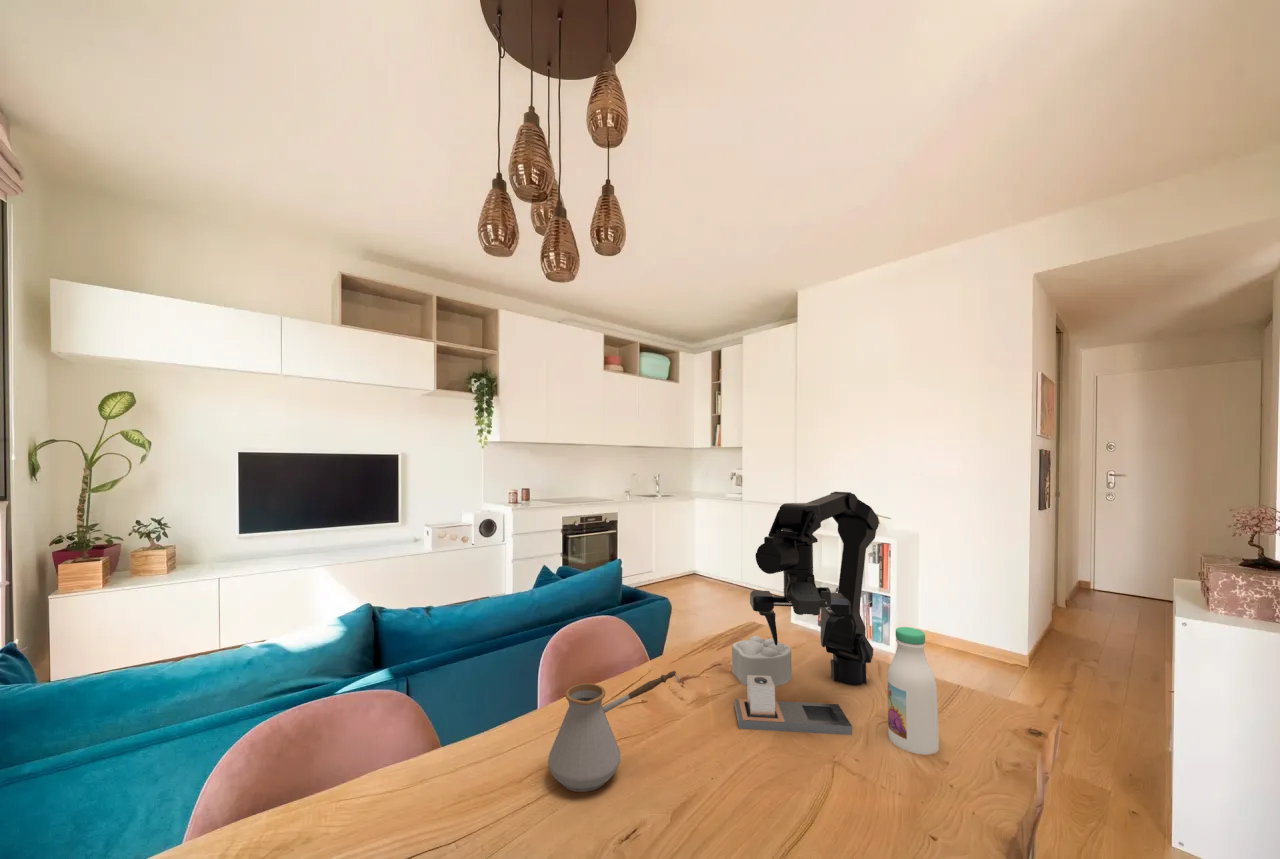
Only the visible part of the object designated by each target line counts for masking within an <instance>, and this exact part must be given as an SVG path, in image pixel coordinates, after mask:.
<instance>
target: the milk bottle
mask: <svg viewBox="0 0 1280 859" xmlns="http://www.w3.org/2000/svg"><path fill="white" fill-rule="evenodd" d="M895 642H896V644H897V645H896V646H897V647H896V650H895V654H894V656H893V657H892V659H891V662H890V664H889V666H888V669H887V670H888V671H887V722H888V724H887V726H888V727H887V728H888V731H887V732H888V739H889V741H890V742H891V743H892V744H894V745H895V746H896V747H898V748H899V749H901V750H904V751H906V752H909V753H912V754H916V755H923V756H924V755H925V756H927V755H934V754H936V753H938V752H939V749H940V743H939V742H940V741H939V740H940V739H939V737H940V736H939V735H940V734H939V733H940V732H939V711H938V710H939V709H938V708H939V707H938V690H937V682H936V678H935V675H934V671H933V669H932V668H931V665H930V663H929V661H928V658H927V656H926V652H925V647H926V634H925V632H923V631H922V630H921V629H918V628H914V627H907V626H901V627H899V626H898V627H897V628H895Z"/></svg>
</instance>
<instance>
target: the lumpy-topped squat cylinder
mask: <svg viewBox="0 0 1280 859" xmlns="http://www.w3.org/2000/svg"><path fill="white" fill-rule="evenodd" d="M731 666H732V667H731V673H732V674H733V675H734V676H735V677H736V678H737V679H738V681H739V682H740V684H741V685H743V686H747V675H759V676H771V678H772V681H773V683H774V686H775V687H776V686H777V687H778V686H779V687H780V686H782V685H785V684H786V683H789V682H790V681H791V680H792V677H793V676H792V674H793V673H792V667H793V666H792V648H791V647H790V646H788V645H787V644H785V643H783V642H782V643H781V642H780V641H777V646H776V645H775V643H774V640H773V638H767V639H763V638H762V637H761V636H759V635H752V636H750V637H749V638H748V639H745V640H744V639H743V640H739V641H736V642H734V643H733V644H732V645H731Z"/></svg>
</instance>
